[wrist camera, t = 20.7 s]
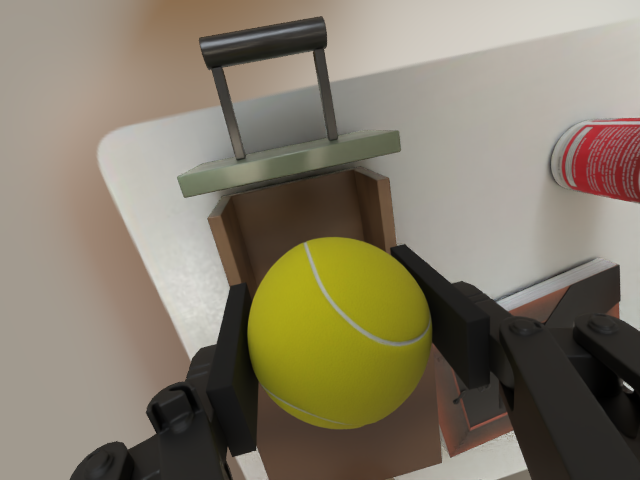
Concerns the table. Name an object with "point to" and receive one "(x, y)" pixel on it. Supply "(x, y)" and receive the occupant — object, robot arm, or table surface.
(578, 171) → the pill bottle
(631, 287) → the table surface
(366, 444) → the cabinet
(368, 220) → the drawer
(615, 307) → the picture frame
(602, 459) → the robot arm
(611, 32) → the table surface
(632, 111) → the table surface
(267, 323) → the tennis ball
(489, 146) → the table surface
